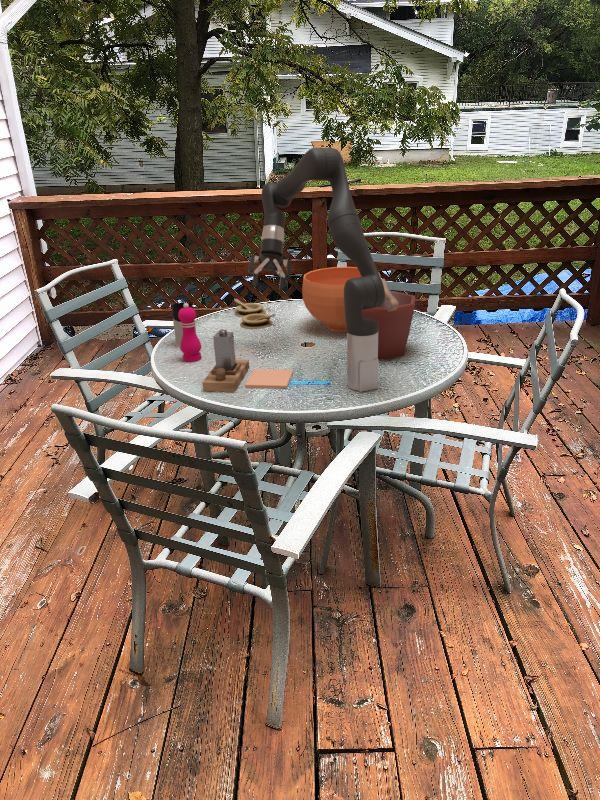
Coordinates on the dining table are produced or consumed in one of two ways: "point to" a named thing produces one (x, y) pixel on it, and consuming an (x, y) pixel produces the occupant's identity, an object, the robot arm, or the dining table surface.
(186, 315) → the pepper mill
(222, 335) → the grey square grinder
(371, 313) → the bucket
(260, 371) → the coaster
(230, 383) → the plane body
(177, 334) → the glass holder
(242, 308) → the tableware set
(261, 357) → the dining table surface
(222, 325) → the dining table surface
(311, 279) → the bowl
